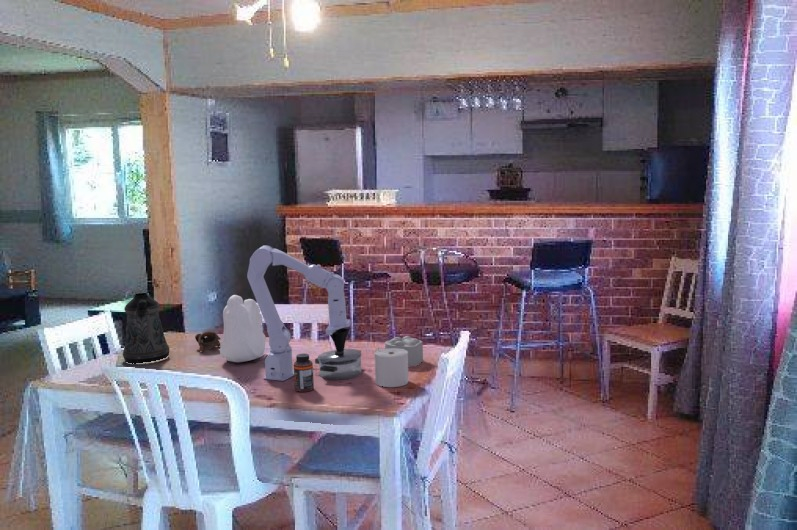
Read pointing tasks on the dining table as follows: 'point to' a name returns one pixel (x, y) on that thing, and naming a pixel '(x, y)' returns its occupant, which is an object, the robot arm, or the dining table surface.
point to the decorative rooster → (242, 330)
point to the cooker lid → (339, 356)
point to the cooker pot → (340, 369)
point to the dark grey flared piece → (144, 331)
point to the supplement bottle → (303, 373)
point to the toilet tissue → (391, 367)
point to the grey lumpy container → (408, 348)
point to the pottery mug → (207, 340)
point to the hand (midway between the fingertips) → (340, 351)
